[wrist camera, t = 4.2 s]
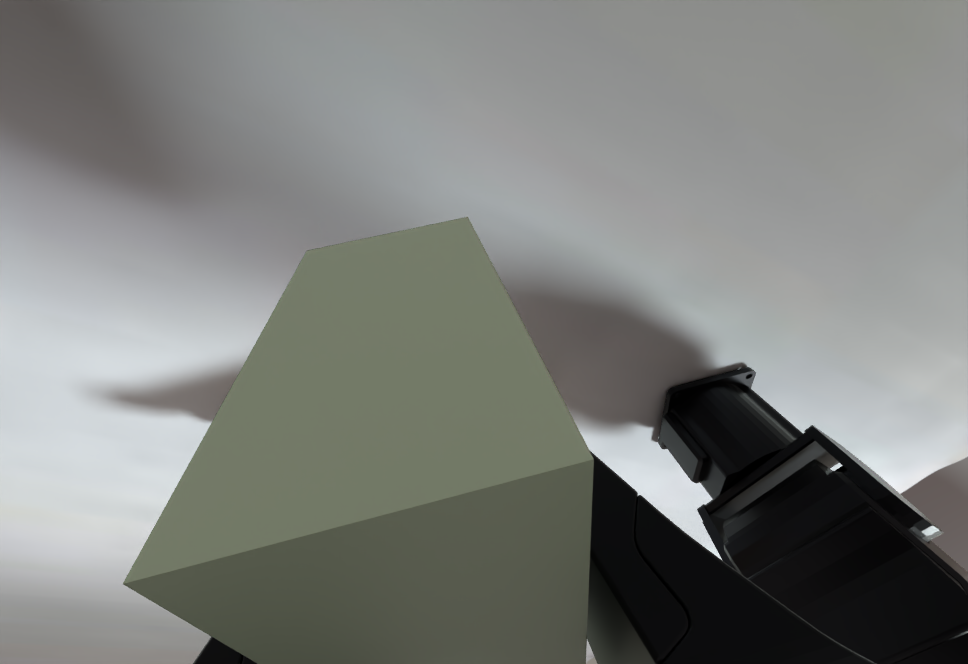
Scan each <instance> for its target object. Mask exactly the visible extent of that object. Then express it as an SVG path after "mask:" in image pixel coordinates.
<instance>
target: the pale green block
mask: <svg viewBox="0 0 968 664" xmlns="http://www.w3.org/2000/svg"><path fill="white" fill-rule="evenodd" d="M593 467H594V459H593V457H592V455H591V453H590V451H589V449H588V447H587V445H586V443H585V441H584V439H583V437H582V435H581V434H580V432H579V430H578V428H577V426H576V424H575V422H574V420H573V418H572V416H571V414H570V412H569V411H568V409H567V407H566V405H565V403H564V401H563V399H562V397H561V395H560V393H559V391H558V389H557V387H556V386H555V384H554V382H553V380H552V378H551V376H550V374H549V372H548V370H547V368H546V366H545V364H544V363H543V361H542V359H541V357H540V355H539V353H538V351H537V349H536V347H535V345H534V343H533V341H532V340H531V338H530V336H529V334H528V332H527V330H526V328H525V326H524V324H523V322H522V320H521V318H520V316H519V315H518V313H517V311H516V309H515V307H514V305H513V303H512V301H511V299H510V297H509V295H508V293H507V292H506V290H505V288H504V286H503V284H502V282H501V280H500V278H499V276H498V274H497V272H496V270H495V268H494V267H493V265H492V263H491V261H490V259H489V257H488V255H487V253H486V251H485V249H484V247H483V245H482V244H481V242H480V240H479V238H478V236H477V234H476V232H475V230H474V228H473V226H472V224H471V222H470V220H469V219H468V217H465V218H460V219H456V220H451V221H446V222H441V223H436V224H432V225H427V226H422V227H417V228H413V229H408V230H403V231H398V232H394V233H389V234H384V235H379V236H374V237H370V238H365V239H360V240H355V241H351V242H346V243H341V244H336V245H332V246H327V247H322V248H317V249H312V250H308V251H306V253H305V255H304V257H303V259H302V260H301V262H300V264H299V266H298V268H297V269H296V271H295V273H294V275H293V277H292V278H291V280H290V282H289V284H288V286H287V288H286V289H285V291H284V293H283V295H282V297H281V298H280V300H279V302H278V304H277V306H276V307H275V309H274V311H273V313H272V315H271V316H270V318H269V320H268V322H267V324H266V326H265V327H264V329H263V331H262V333H261V335H260V336H259V338H258V340H257V342H256V344H255V345H254V347H253V349H252V351H251V353H250V355H249V356H248V358H247V360H246V362H245V364H244V365H243V367H242V369H241V371H240V373H239V374H238V376H237V378H236V380H235V382H234V383H233V385H232V387H231V389H230V391H229V393H228V394H227V396H226V398H225V400H224V402H223V403H222V405H221V407H220V409H219V411H218V412H217V414H216V416H215V418H214V420H213V421H212V423H211V425H210V427H209V429H208V431H207V432H206V434H205V436H204V438H203V440H202V441H201V443H200V445H199V447H198V449H197V450H196V452H195V454H194V456H193V458H192V460H191V461H190V463H189V465H188V467H187V469H186V470H185V472H184V474H183V476H182V478H181V479H180V481H179V483H178V485H177V487H176V488H175V490H174V492H173V494H172V496H171V498H170V499H169V501H168V503H167V505H166V507H165V508H164V510H163V512H162V514H161V516H160V517H159V519H158V521H157V523H156V525H155V526H154V528H153V530H152V532H151V534H150V536H149V537H148V539H147V541H146V543H145V545H144V546H143V548H142V550H141V552H140V554H139V555H138V557H137V559H136V561H135V563H134V564H133V566H132V568H131V570H130V572H129V574H128V575H127V577H126V579H125V581H124V583H123V584H124V585H125V586H127V587H129V588H131V589H132V590H134V591H136V592H137V593H139V594H141V595H142V596H144V597H146V598H147V599H149V600H151V601H153V602H154V603H156V604H158V605H159V606H161V607H163V608H164V609H166V610H168V611H169V612H171V613H173V614H175V615H176V616H178V617H180V618H181V619H183V620H185V621H186V622H188V623H190V624H191V625H193V626H195V627H196V628H198V629H200V630H202V631H203V632H205V633H207V634H208V635H210V636H212V637H213V638H215V639H217V640H218V641H220V642H222V643H224V644H225V645H227V646H229V647H230V648H232V649H234V650H235V651H237V652H239V653H240V654H242V655H244V656H246V657H247V658H249V659H251V660H252V661H254V662H256V663H257V664H586V643H587V618H588V593H589V568H590V542H591V517H592V492H593Z"/></svg>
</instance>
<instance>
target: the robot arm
mask: <svg viewBox="0 0 968 664" xmlns="http://www.w3.org/2000/svg"><path fill="white" fill-rule="evenodd" d="M755 375H756V372H755V371H754V370H752V369H751V368H749V367H747V368H743V369H739V370H736V371H732V372H728V373H725V374H721V375H717V376H713V377H710V378H706V379H702V380H698V381H695V382H691V383H687V384H684V385H680V386H676V387H673V388H671V389H670V390H669V391H668V392H667V396H666V401H665V407H664V413H663V419H662V424H661V430H660V436H659V442H658V444H659V445H660V447H661V448H662V449H668V450H669V451H670V453H671V454H672V455H673V457H674V458H675V459H676V461H677V462H678V463H679V465H680V466H681V468H682V469H683V470H684V472H685V473H686V474H687V476H688V477H689V478H690V480H691V481H693V482H694V483H699V482H700V483H701V484H702V485H703V487H704V488H705V489H706V491H707V492H708V493H709V495H710V496H711V497H712V499H713V500H712V501H710V502H709V503H707V504H706V505H704V504H703V505H702V506H701V507H699V508H698V509H697V510H698V512H699V514H700V516H701V518H702V520H703V524H704V526H705V528H706V530H707V532H708V534H709V535H710V537H711V539H712V541H713V543H714V545H715V547H716V549H717V551H718V553H719V554H720V556H721V558H722V560H723V561H722V560H721V559H719V558H718V557H717V556H715V555H714V554H713V553H711V552H710V551H709V550H707V549H706V548H705V547H703V546H702V545H701V544H699V543H698V542H697V541H695V540H694V539H693V538H691V537H690V536H689V535H687V534H686V533H685V532H684V531H682V530H681V529H680V528H679V527H678V526H676V525H675V524H674V523H673V522H672V521H670V520H669V519H668V518H667V517H666V516H664V515H663V514H662V513H661V512H660V511H658V510H657V509H656V508H655V507H654V506H653V505H651V504H650V503H649V502H648V501H647V500H646V499H645V498H644V497H642V496H641V495H639V496H638V497H637V495H638V494H637V492H636V491H635V490H634V489H633V488H632V487H631V486H630V485H628V484H627V483H626V482H625V481H624V480H623V479H622V478H620V477H619V476H618V475H617V474H616V473H615V472H614V471H612V470H611V469H610V468H609V467H608V466H607V465H606V464H604V463H603V462H602V461H601V460H600V459H599V458H598V457H596V456H595V455H594V454H593V453H592V452H591V451H590V450H589V451H590V453H591V455H592V457H593V459H594V467H593V492H592V517H591V542H590V568H589V593H588V618H587V639H588V642H589V644H590V647H591V649H592V651H593V654H594V656H595V659H596V661H597V663H598V664H968V572H967V571H966V570H965V569H964V568H963V567H961V566H960V565H959V564H958V563H957V562H956V561H954V560H953V559H952V558H951V557H950V556H949V555H947V554H946V553H945V552H944V551H943V550H942V549H940V548H939V547H938V546H937V545H936V544H935V543H933V542H932V541H931V540H932V539H934V538H936V537H937V536H939V535H941V534H943V531H942V530H941V529H939V528H938V527H937V526H936V525H935V524H934V523H933V522H931V521H930V520H929V519H928V518H927V517H926V516H925V515H923V514H922V513H921V512H920V511H919V510H917V509H916V508H915V507H914V506H913V505H912V504H911V503H910V502H908V501H907V500H906V499H905V498H904V497H903V496H902V495H901V494H899V493H898V492H897V491H896V490H895V489H894V488H893V487H891V486H890V485H889V484H888V483H887V482H886V481H885V480H883V479H882V478H881V477H880V476H879V475H878V474H876V473H875V472H874V471H873V470H871V469H870V468H869V467H868V466H866V465H865V464H864V463H863V462H861V461H860V460H859V459H858V458H856V457H855V456H854V455H853V454H851V453H850V452H849V451H848V450H846V449H845V448H844V447H843V446H841V445H840V444H839V443H837V442H836V441H834V440H833V439H831V438H830V437H829V436H827V435H826V434H824V433H823V432H821V431H820V430H818V429H817V428H816V427H814V426H813V425H812V426H810V427H809V428H808V429H806V430H805V433H804V434H803V433H802V432H800V431H799V430H798V429H797V428H796V427H795V426H793V425H792V424H791V423H790V422H789V421H788V420H786V419H785V418H784V417H783V416H782V415H781V414H780V413H778V412H777V411H776V410H775V409H774V408H773V407H771V406H770V405H769V404H768V403H767V402H766V401H764V400H763V399H762V398H761V397H760V396H759V395H758V394H756V393H755V392H754V391H753V390H752V389H751V386H752V383H753V380H754V377H755ZM839 462H840V463H841V464H842V465H843V466H842V467H840V468H839V469H837V470H836V471H832V470H831V469H830V468H831V467H833V466H834V465H836V464H837V463H839ZM193 664H257V663H256V662H254V661H252V660H251V659H249V658H247V657H246V656H244V655H242V654H240V653H239V652H237V651H235V650H234V649H232V648H230V647H229V646H227V645H225V644H224V643H222V642H220V641H218V640H217V639H215V638H213V637H211V638H210V639H209V641H208V642H207V644H206V645H205V647H204V648H203V650H202V651H201V653H200V654H199V656H198V657H197V658H196V660H195V661H194V663H193Z"/></svg>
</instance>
